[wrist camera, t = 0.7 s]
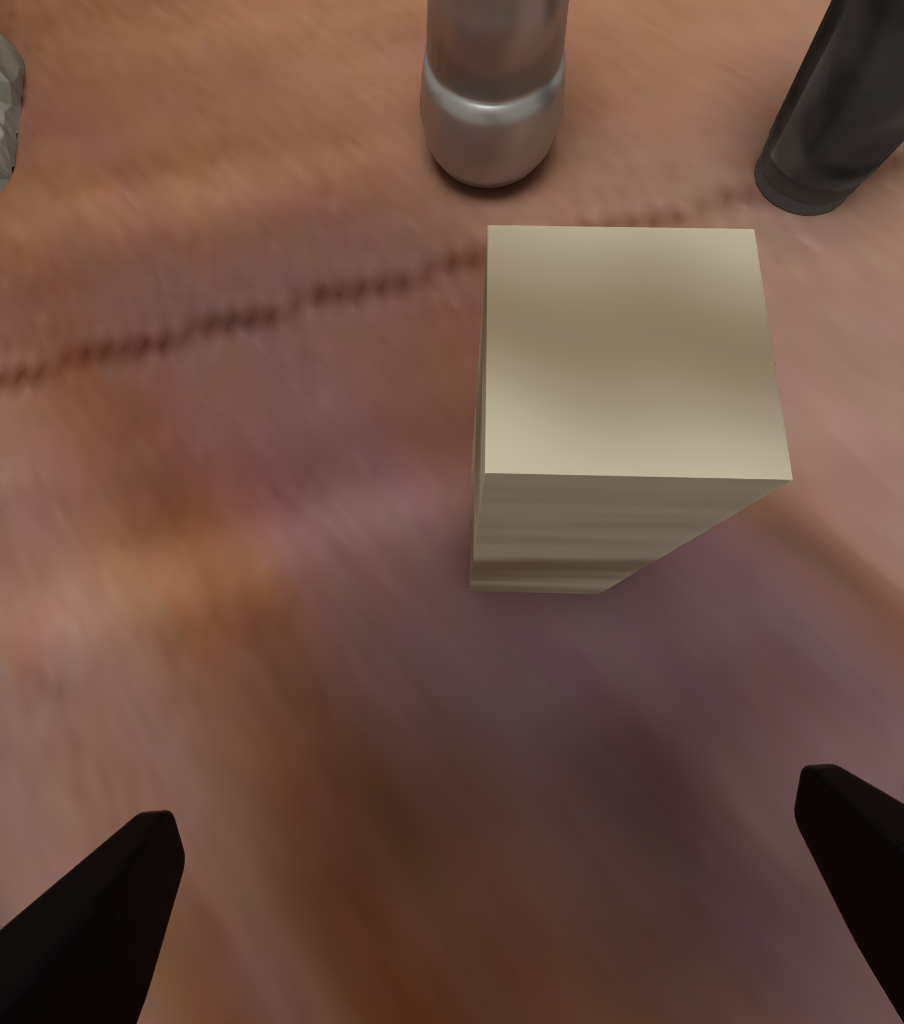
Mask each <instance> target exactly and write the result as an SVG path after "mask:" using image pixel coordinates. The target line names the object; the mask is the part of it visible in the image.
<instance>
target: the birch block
mask: <svg viewBox="0 0 904 1024" xmlns="http://www.w3.org/2000/svg"><path fill="white" fill-rule="evenodd" d="M791 480H793V479H792V472H791V466H790V459H789V453H788V446H787V440H786V433H785V427H784V420H783V414H782V408H781V401H780V395H779V388H778V382H777V375H776V369H775V362H774V356H773V349H772V343H771V336H770V330H769V324H768V317H767V311H766V304H765V298H764V291H763V285H762V278H761V272H760V265H759V259H758V252H757V246H756V240H755V233H754V229H706V228H638V227H570V226H502V225H488V230H487V245H486V260H485V274H484V289H483V304H482V319H481V334H480V349H479V364H478V379H477V394H476V409H475V424H474V439H473V454H472V469H471V520H470V574H469V591H493V592H532V593H571V594H600V593H602V592H603V591H605V590H607V589H609V588H610V587H612V586H614V585H615V584H617V583H619V582H620V581H622V580H624V579H626V578H627V577H629V576H631V575H632V574H634V573H636V572H637V571H639V570H641V569H642V568H644V567H646V566H648V565H649V564H651V563H653V562H654V561H656V560H658V559H659V558H661V557H663V556H664V555H666V554H668V553H670V552H671V551H673V550H675V549H676V548H678V547H680V546H681V545H683V544H685V543H686V542H688V541H690V540H692V539H693V538H695V537H697V536H698V535H700V534H702V533H703V532H705V531H707V530H708V529H710V528H712V527H714V526H715V525H717V524H719V523H720V522H722V521H724V520H725V519H727V518H729V517H730V516H732V515H734V514H736V513H737V512H739V511H741V510H742V509H744V508H746V507H747V506H749V505H751V504H752V503H754V502H756V501H758V500H759V499H761V498H763V497H764V496H766V495H768V494H769V493H771V492H773V491H774V490H776V489H778V488H780V487H781V486H783V485H785V484H786V483H788V482H790V481H791Z"/></svg>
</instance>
